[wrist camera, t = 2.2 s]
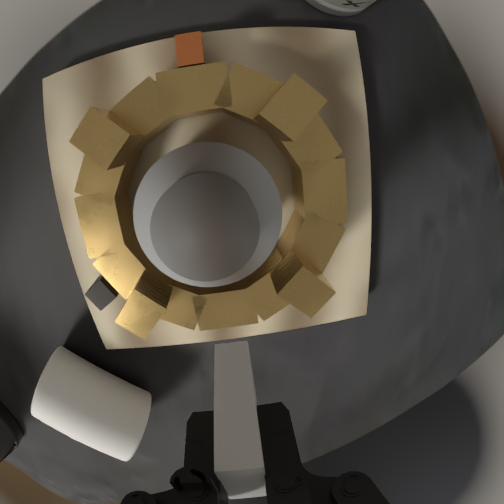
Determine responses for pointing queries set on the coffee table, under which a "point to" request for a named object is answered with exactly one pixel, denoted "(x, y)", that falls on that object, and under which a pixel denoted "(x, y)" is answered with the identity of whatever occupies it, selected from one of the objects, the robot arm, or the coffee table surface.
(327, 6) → the travel mug
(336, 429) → the coffee table surface
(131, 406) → the mug
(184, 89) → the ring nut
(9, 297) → the coffee table surface
